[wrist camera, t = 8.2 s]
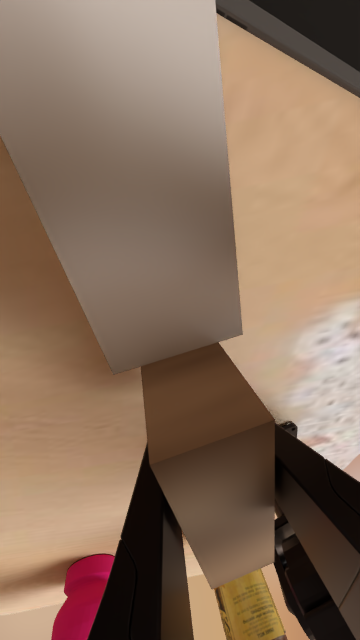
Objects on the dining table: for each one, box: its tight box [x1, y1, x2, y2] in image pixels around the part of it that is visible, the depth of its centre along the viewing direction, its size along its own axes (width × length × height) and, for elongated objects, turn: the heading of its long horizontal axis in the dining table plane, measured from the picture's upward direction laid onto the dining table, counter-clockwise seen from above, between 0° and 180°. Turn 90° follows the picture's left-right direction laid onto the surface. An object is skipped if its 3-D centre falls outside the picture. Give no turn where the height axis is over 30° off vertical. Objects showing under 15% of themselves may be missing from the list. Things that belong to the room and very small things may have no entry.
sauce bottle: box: [214, 568, 287, 640], centre depth 23 cm, size 6×6×20 cm
